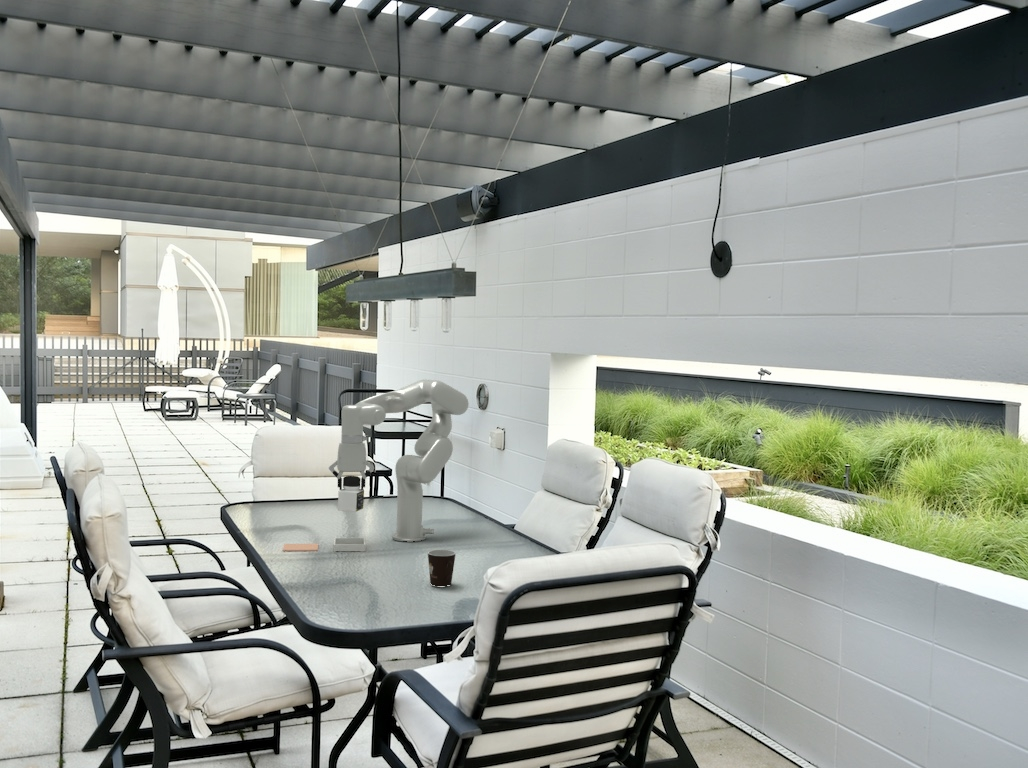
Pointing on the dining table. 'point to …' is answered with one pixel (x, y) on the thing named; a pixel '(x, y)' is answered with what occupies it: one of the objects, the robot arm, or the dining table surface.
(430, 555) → the coffee mug
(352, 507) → the medicine bottle
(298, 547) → the coaster
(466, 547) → the dining table surface
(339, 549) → the parts bin
